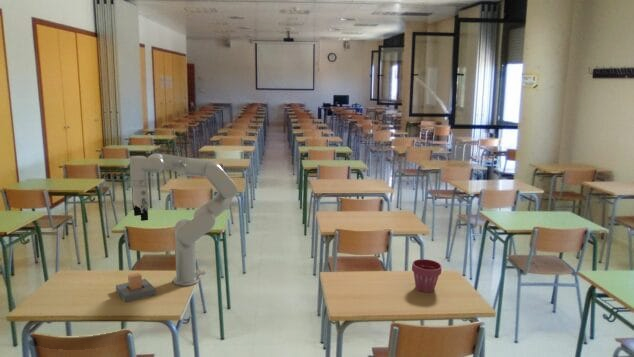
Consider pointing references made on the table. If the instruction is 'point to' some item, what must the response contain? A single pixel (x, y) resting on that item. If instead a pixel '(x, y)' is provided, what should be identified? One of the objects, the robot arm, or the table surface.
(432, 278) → the plant pot
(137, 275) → the plug
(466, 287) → the table surface
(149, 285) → the socket plate
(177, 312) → the table surface
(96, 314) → the table surface
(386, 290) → the table surface
